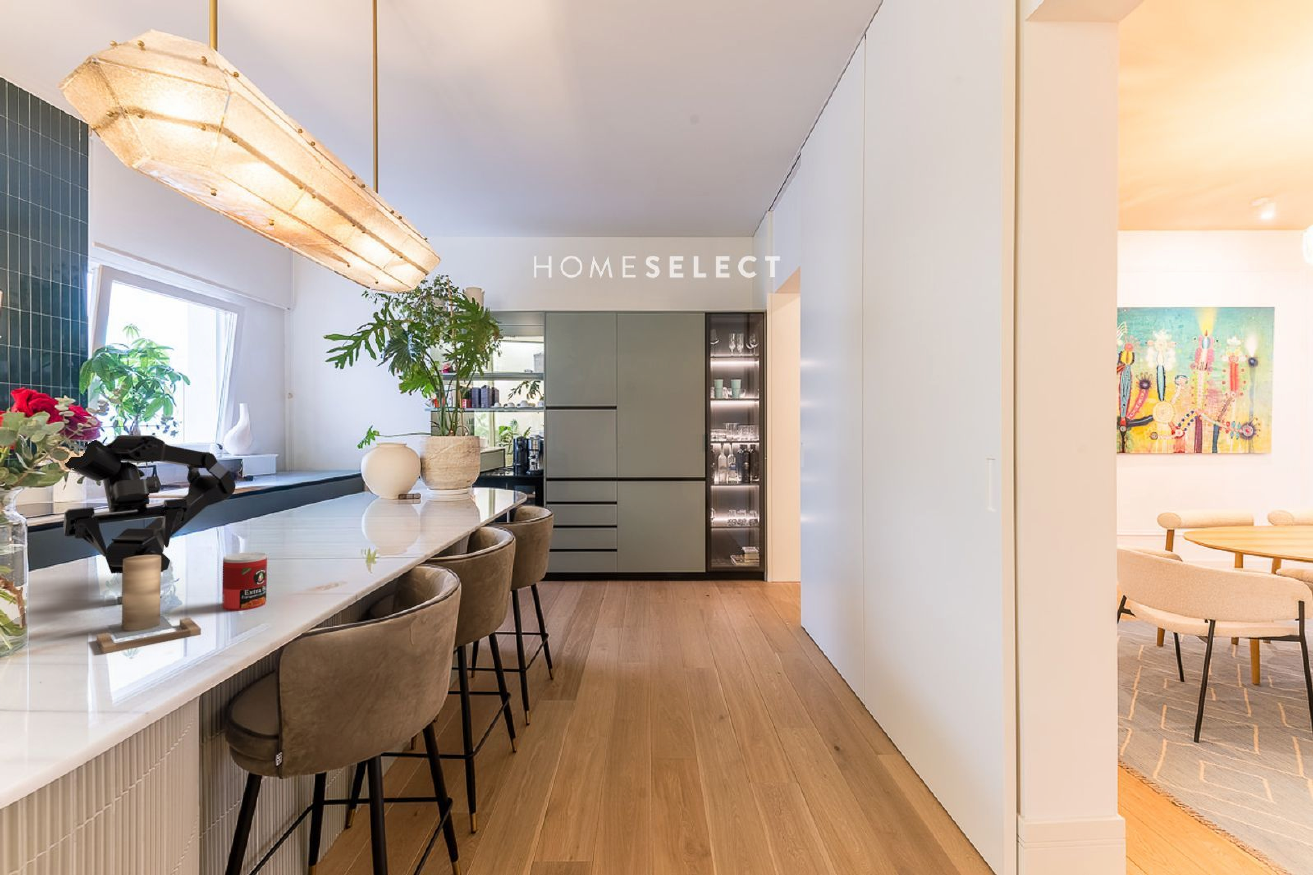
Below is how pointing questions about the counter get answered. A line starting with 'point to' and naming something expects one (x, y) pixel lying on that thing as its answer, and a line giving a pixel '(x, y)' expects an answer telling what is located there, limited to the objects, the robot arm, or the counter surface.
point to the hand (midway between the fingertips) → (137, 550)
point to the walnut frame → (148, 638)
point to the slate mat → (121, 634)
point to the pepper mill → (141, 592)
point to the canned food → (244, 581)
